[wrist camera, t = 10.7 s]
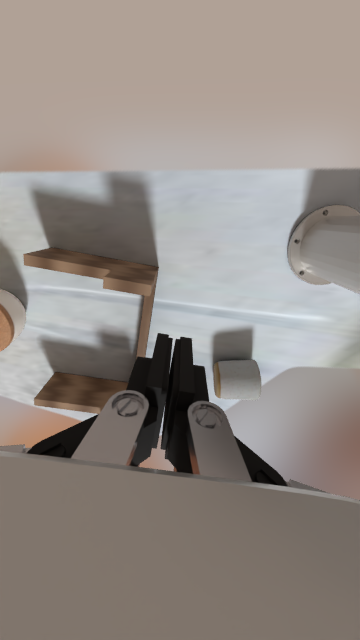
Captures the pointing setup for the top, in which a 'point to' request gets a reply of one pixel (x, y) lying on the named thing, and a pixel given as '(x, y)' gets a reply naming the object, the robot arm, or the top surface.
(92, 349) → the top surface
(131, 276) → the wooden rack
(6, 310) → the lidded jar
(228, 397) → the white mug
